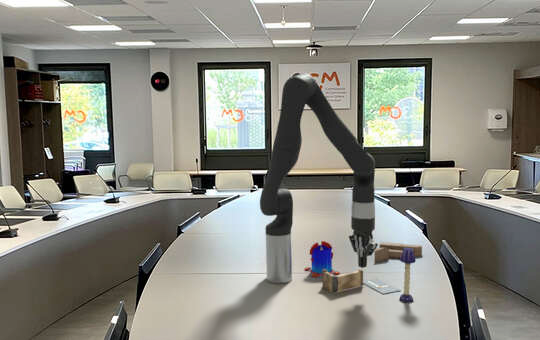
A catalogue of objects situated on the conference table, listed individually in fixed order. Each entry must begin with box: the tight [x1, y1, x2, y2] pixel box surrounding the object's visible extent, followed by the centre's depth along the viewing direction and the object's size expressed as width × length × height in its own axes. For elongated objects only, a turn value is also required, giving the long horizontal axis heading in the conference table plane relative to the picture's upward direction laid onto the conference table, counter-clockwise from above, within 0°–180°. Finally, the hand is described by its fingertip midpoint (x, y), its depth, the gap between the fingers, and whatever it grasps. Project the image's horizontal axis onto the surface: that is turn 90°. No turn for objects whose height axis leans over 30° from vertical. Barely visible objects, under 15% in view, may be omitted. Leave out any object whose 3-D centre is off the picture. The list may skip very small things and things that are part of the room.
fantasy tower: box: [303, 240, 341, 279], centre depth 182 cm, size 12×12×12 cm
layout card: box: [363, 277, 402, 295], centre depth 165 cm, size 14×7×1 cm, turn 22°
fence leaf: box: [332, 269, 364, 293], centre depth 163 cm, size 13×2×5 cm, turn 120°
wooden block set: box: [374, 241, 423, 263], centre depth 198 cm, size 17×6×18 cm
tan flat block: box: [321, 269, 335, 293], centre depth 164 cm, size 7×2×6 cm, turn 22°
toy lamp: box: [399, 248, 416, 303], centre depth 151 cm, size 5×5×17 cm
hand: (362, 266), depth 157 cm, fingers closed
